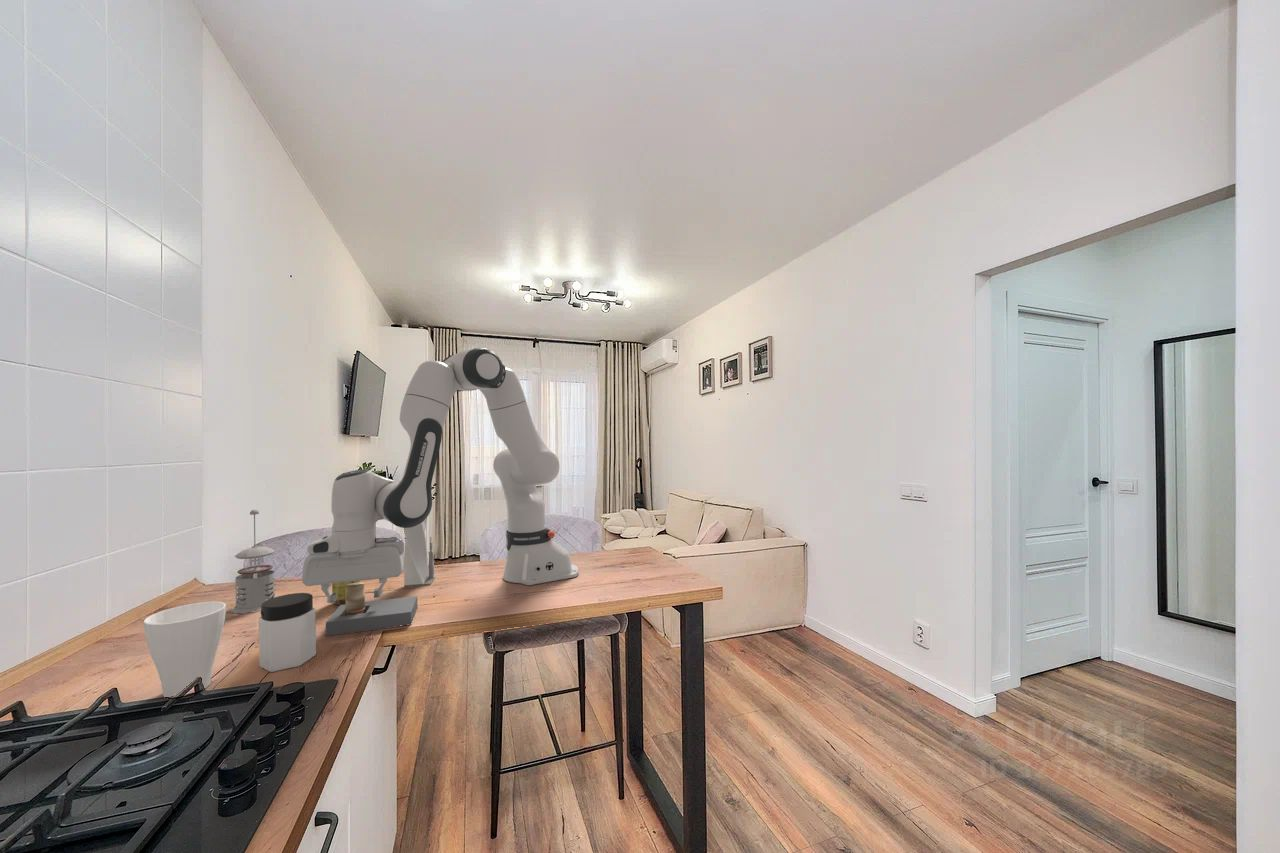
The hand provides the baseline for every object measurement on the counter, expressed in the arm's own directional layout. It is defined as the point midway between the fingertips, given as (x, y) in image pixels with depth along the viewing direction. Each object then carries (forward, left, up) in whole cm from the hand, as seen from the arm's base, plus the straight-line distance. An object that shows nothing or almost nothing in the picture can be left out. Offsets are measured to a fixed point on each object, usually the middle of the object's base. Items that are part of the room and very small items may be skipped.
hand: (355, 599), depth 111 cm
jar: (+8, +16, -6) cm, 19 cm away
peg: (0, 0, -6) cm, 6 cm away
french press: (+28, -23, -6) cm, 37 cm away
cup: (+21, +22, -6) cm, 31 cm away
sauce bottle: (+6, -17, -6) cm, 19 cm away
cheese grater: (-10, -27, -6) cm, 29 cm away
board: (-4, 0, -6) cm, 7 cm away
